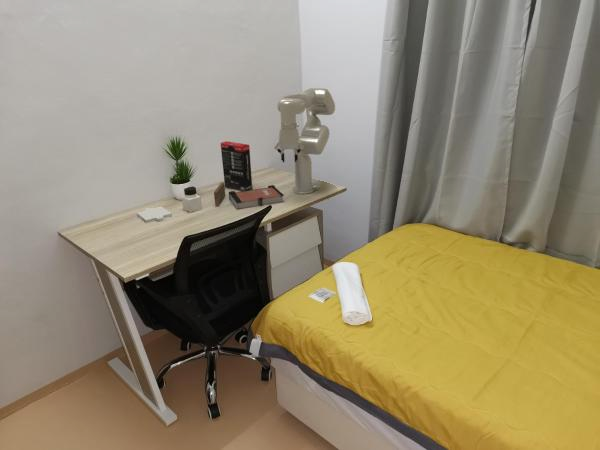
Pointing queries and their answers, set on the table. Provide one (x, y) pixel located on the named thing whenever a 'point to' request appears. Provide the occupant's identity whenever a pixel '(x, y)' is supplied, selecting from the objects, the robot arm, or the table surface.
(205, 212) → the table surface
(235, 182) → the graphics card box
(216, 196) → the walnut board
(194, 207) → the medicine bottle
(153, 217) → the mounting plate
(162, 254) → the table surface
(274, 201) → the book
